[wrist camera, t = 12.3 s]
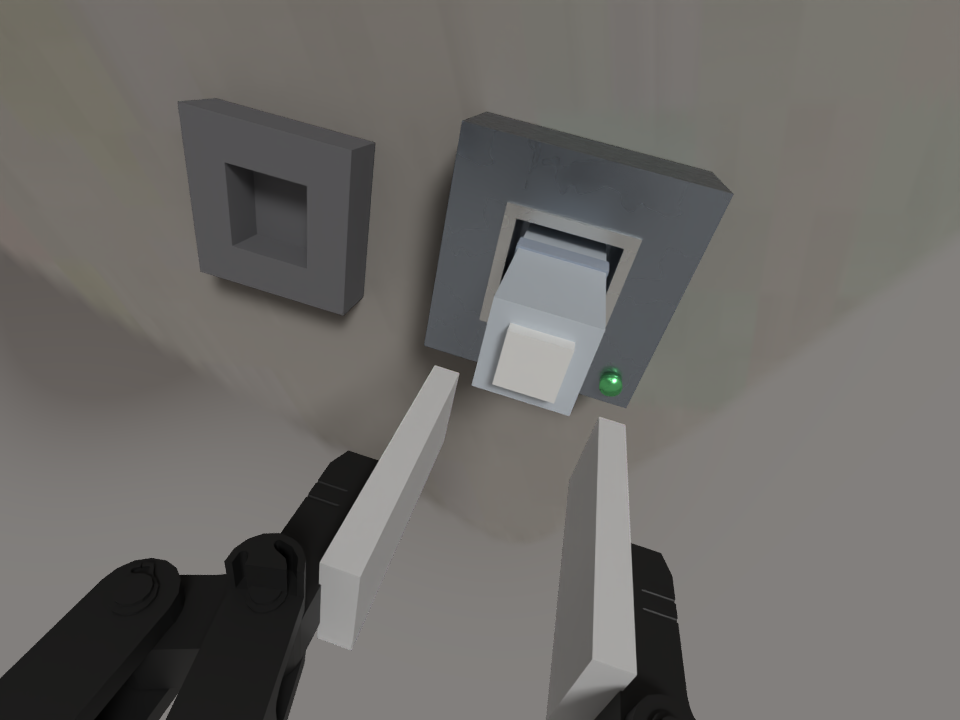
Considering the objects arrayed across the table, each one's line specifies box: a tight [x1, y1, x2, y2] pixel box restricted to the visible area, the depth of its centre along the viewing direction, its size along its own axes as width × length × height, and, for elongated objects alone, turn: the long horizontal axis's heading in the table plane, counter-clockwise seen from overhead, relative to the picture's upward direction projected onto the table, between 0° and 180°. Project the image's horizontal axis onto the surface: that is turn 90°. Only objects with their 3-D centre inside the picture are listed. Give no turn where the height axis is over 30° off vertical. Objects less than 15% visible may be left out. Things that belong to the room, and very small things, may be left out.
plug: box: [472, 223, 609, 416], centre depth 22 cm, size 4×4×13 cm
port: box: [424, 112, 733, 408], centre depth 25 cm, size 12×12×6 cm
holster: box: [178, 98, 375, 315], centre depth 29 cm, size 10×10×3 cm
